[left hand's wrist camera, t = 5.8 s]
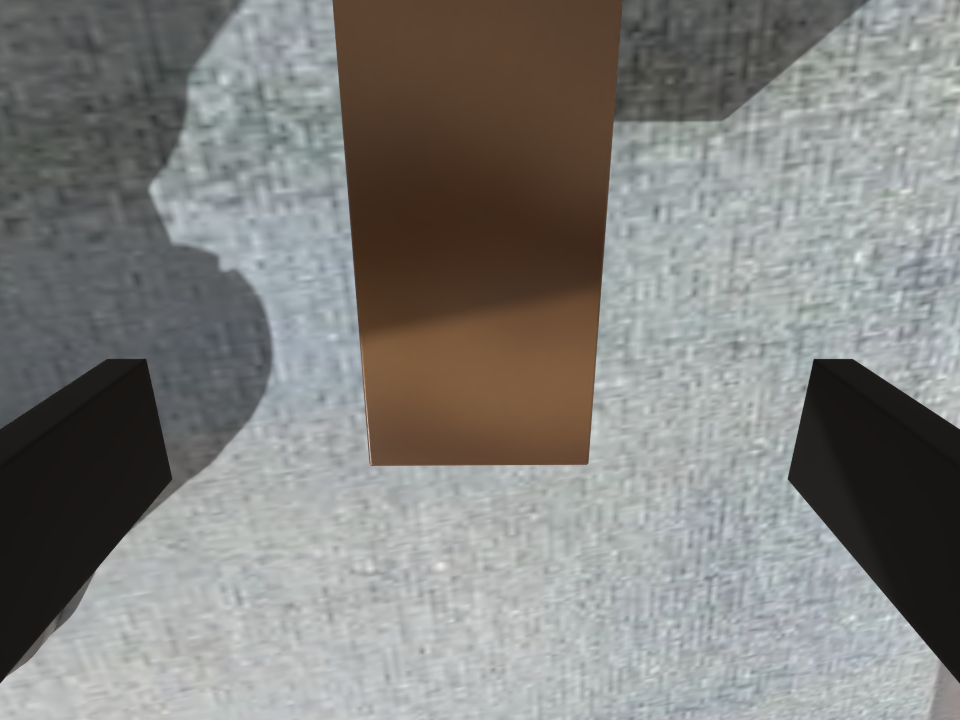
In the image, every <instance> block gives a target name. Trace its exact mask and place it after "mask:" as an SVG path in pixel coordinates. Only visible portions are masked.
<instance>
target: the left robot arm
mask: <svg viewBox="0 0 960 720" xmlns="http://www.w3.org/2000/svg"><path fill="white" fill-rule="evenodd" d="M171 480H172V476H171V471H170V466H169V462H168V457H167V453H166V448H165V443H164V439H163V434H162V430H161V425H160V420H159V416H158V411H157V407H156V402H155V397H154V393H153V388H152V384H151V379H150V374H149V370H148V365H147V361H146V359H107V360H105V361H104V362H102V363H100V364H99V365H97V366H96V367H94V368H93V369H91V370H90V371H88V372H87V373H85V374H84V375H82V376H81V377H79V378H78V379H76V380H75V381H73V382H72V383H70V384H69V385H67V386H65V387H64V388H62V389H61V390H59V391H58V392H56V393H55V394H53V395H52V396H50V397H49V398H47V399H46V400H44V401H43V402H41V403H40V404H38V405H37V406H35V407H34V408H32V409H31V410H29V411H27V412H26V413H24V414H23V415H21V416H20V417H18V418H17V419H15V420H14V421H12V422H11V423H9V424H8V425H6V426H5V427H3V428H2V429H0V683H1V682H2V681H3V679H4V678H5V677H6V676H8V675H9V674H11V673H12V672H14V671H15V670H16V669H18V668H19V667H20V666H22V665H23V664H25V663H26V662H27V661H28V660H29V659H30V658H32V657H33V655H34V654H35V653H36V652H37V651H38V649H39V648H40V647H41V646H42V645H43V643H44V642H45V641H46V640H47V638H48V637H49V636H50V635H51V634H52V632H53V631H54V629H55V628H56V626H57V624H58V622H59V620H60V617H61V613H62V609H63V608H64V607H65V606H66V605H67V604H68V602H69V601H70V600H71V599H72V598H73V596H74V595H75V594H76V593H77V592H78V590H79V589H80V588H81V587H82V586H83V585H84V583H85V582H86V581H87V580H88V579H89V577H90V576H91V575H92V574H93V573H94V571H95V570H96V569H97V568H98V567H99V566H100V564H101V563H102V562H103V561H104V560H105V558H106V557H107V556H108V555H109V554H110V552H111V551H112V550H113V549H114V548H115V547H116V545H117V544H118V543H119V542H120V541H121V539H122V538H123V537H124V536H125V535H126V533H127V532H128V531H129V530H130V529H131V528H132V526H133V525H134V524H135V523H136V522H137V520H138V519H139V518H140V517H141V516H142V515H143V513H144V512H145V511H146V510H147V509H148V507H149V506H150V505H151V504H152V503H153V501H154V500H155V499H156V498H157V497H158V496H159V494H160V493H161V492H162V491H163V490H164V488H165V487H166V486H167V485H168V484H169V482H170V481H171ZM788 480H789V481H790V482H791V484H792V485H793V486H794V487H795V488H796V490H797V491H798V492H799V493H800V494H801V496H802V497H803V498H804V499H805V500H806V501H807V503H808V504H809V505H810V506H811V507H812V509H813V510H814V511H815V512H816V513H817V515H818V516H819V517H820V518H821V519H822V520H823V522H824V523H825V524H826V525H827V526H828V528H829V529H830V530H831V531H832V532H833V533H834V535H835V536H836V537H837V538H838V539H839V541H840V542H841V543H842V544H843V545H844V547H845V548H846V549H847V550H848V551H849V552H850V554H851V555H852V556H853V557H854V558H855V560H856V561H857V562H858V563H859V564H860V566H861V567H862V568H863V569H864V570H865V571H866V573H867V574H868V575H869V576H870V577H871V579H872V580H873V581H874V582H875V583H876V585H877V586H878V587H879V588H880V589H881V590H882V592H883V593H884V594H885V595H886V596H887V598H888V599H889V600H890V601H891V602H892V604H893V605H894V606H895V607H896V608H897V609H898V611H899V612H900V613H901V614H902V615H903V617H904V618H905V619H906V620H907V621H908V622H909V624H910V625H911V626H912V627H913V628H914V630H915V631H916V632H917V633H918V634H919V636H920V637H921V638H922V639H923V640H924V641H925V643H926V644H927V645H928V646H929V647H930V649H931V650H932V651H933V652H934V653H935V655H936V656H937V657H938V658H939V659H940V660H941V662H942V663H943V664H944V665H945V666H946V668H947V669H948V670H949V671H950V672H951V674H952V675H953V676H954V677H955V678H956V679H957V681H958V682H959V683H960V429H958V428H957V427H955V426H954V425H952V424H951V423H949V422H948V421H946V420H945V419H943V418H942V417H940V416H939V415H937V414H936V413H934V412H933V411H931V410H929V409H928V408H926V407H925V406H923V405H922V404H920V403H919V402H917V401H916V400H914V399H913V398H911V397H910V396H908V395H907V394H905V393H904V392H902V391H901V390H899V389H898V388H896V387H895V386H893V385H891V384H890V383H888V382H887V381H885V380H884V379H882V378H881V377H879V376H878V375H876V374H875V373H873V372H872V371H870V370H869V369H867V368H866V367H864V366H863V365H861V364H860V363H858V362H856V361H855V360H853V359H814V361H813V365H812V370H811V374H810V379H809V384H808V388H807V393H806V397H805V402H804V407H803V411H802V416H801V420H800V425H799V430H798V434H797V439H796V443H795V448H794V453H793V457H792V462H791V466H790V471H789V476H788Z"/></svg>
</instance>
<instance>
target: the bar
mask: <svg viewBox="0 0 960 720" xmlns="http://www.w3.org/2000/svg"><path fill="white" fill-rule="evenodd" d="M333 12H334V25H335V37H336V50H337V62H338V75H339V87H340V100H341V112H342V125H343V137H344V150H345V162H346V175H347V187H348V200H349V212H350V225H351V237H352V250H353V262H354V275H355V287H356V300H357V312H358V325H359V337H360V350H361V362H362V375H363V387H364V400H365V412H366V425H367V437H368V450H369V462H370V465H371V466H420V465H587V464H588V461H589V448H590V434H591V421H592V407H593V394H594V380H595V366H596V353H597V339H598V326H599V312H600V299H601V285H602V271H603V258H604V244H605V231H606V217H607V204H608V190H609V177H610V163H611V149H612V136H613V122H614V109H615V95H616V82H617V68H618V54H619V41H620V27H621V14H622V0H333Z"/></svg>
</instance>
